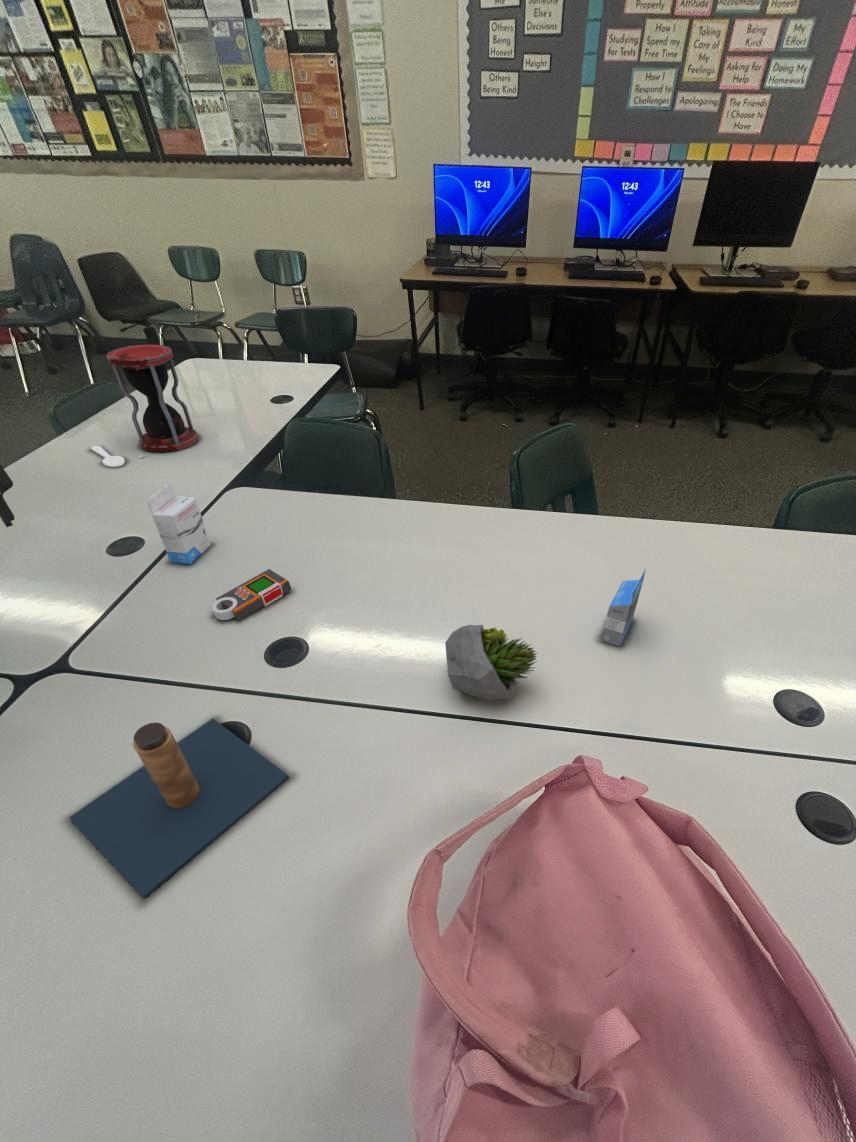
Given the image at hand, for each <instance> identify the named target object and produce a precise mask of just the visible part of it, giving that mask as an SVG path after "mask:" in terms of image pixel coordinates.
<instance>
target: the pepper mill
mask: <svg viewBox="0 0 856 1142" xmlns="http://www.w3.org/2000/svg"><path fill="white" fill-rule="evenodd" d="M177 743H178V742H177V740H176V738H175V737H174V735H173V732H172V731H171V729H170V728H169V727H168V726H165V725H163V724H162V723H161V722H150V723H146V724H144V725H142V726H140V727H139V728H138V729H137V730H136V731H135V733H134V735H133V743H132V747H133V749H134V751H135V752H136V755H137V756H138V758H139V759H140V761H141V762H142V764H143V766H145V768H146V769H147V771H148V773H149V774H150V776H151V778H152V779H153V781H154V783H155V785H156V786H157V788H158V790H159V791H160V793H161V795H162V796H163V798H164V800H165V801H166V803H167V805H168V806H170V807H172V808H182V807H185V806H188V805H189V804H191V803H192V802H194V801H195V800H196V798H197V797H198V795H199V792H200V788H199V785H198V783H197V781H196V779H195V778H194V776H193V774H192V772H191V770H190V768H189V766H188V764H187V762H186V760H185V758H184V756H183V754H182V752H181V750H180V748H179V746H178V744H177Z"/></svg>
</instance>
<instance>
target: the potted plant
mask: <svg viewBox="0 0 856 1142" xmlns="http://www.w3.org/2000/svg"><path fill="white" fill-rule="evenodd" d="M508 640H509V637H507V633H506V632H505V630H504V629H499V630H498V628H497V627H496V626H494V627H491V628H484V624H467V625H462V626H460V627H458V628H457V629H455V630H453V631H452V632H451V633H450V635H449V636H448V638H447V639H446V640H445V643H444V644H445V657H446V667H447V668H446V669H447V676H448V679H449V681H450V685H451V687H452V689H454V690H456V691H459V692H461V693H462V692H463V693H465V694H468V695H470V696H473V697H476V698H479V699H481V700H482V699H483V700H486V701H493V700H494V701H495V700H503V699H510V698H511V697H513V694H514V689H515V685H517V686H518V684H517V683H519V682H518V681H517V680H516V679H528V678H529V677H528V676H525V675H527V674H531V672H534V671H535V669H536V667H535V666H533V665H534V664H536V663H538V662H539V660H538V661H536V660H537V657H538V655H537V654H538V652H536V650H534V647H530V646H532V645H533V644H532V643H529V644H528V642H526V640H523V641H521V640H522V637H520V638H516V639H515V638H514V639H511V640H509V641H508ZM520 641H521V642H520ZM518 642H519V643H518ZM532 666H533V667H532Z"/></svg>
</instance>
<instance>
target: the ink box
mask: <svg viewBox="0 0 856 1142" xmlns="http://www.w3.org/2000/svg"><path fill="white" fill-rule="evenodd" d="M164 494H165V496H163V495H164ZM161 496H163V497H162V498H161V499H160V497H161ZM158 499H159V500H158ZM146 502H147V505H148V507H149V510H150V513H151V516H152V520H153V522H154V524H155V527H156V529H157V532H158V534H159V537H160V540H161V542H162V545H163V547H164V550H165V552H166V555H167V558H168V559H169V562H170V563H174V564H183V565H191V564H193V562H195V561H196V559H197V558H199V557H200V556H201V555H202V554H203V553H204V552H205V551H206V550H208V549H209V547H211V546H212V544H211V541H210V538H209V535H208V532H207V529H206V526H205V523H204V520H203V516H202V513H201V511H200V507H199V504H198V501H197V499H196V497H194V496H185V495H176V492H175V490H174V486H173V484H172V483H171V482H168V484H166V485H165V486H163V487H161V489H159V490H157V491H156V492H155V493H153V494H152V495H151V496H149V497H148V498H147V500H146Z"/></svg>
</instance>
